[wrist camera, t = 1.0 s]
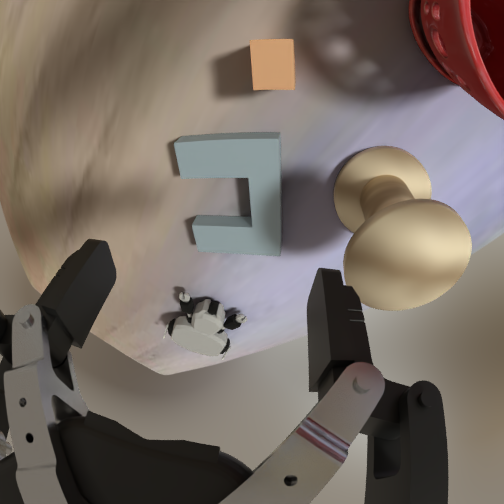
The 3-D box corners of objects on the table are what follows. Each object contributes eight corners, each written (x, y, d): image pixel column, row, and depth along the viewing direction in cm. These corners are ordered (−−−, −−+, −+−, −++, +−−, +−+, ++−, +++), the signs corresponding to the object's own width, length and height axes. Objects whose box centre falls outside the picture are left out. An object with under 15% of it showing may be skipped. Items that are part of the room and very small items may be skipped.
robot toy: (182, 276, 42) (168, 324, 51) (173, 297, 39) (161, 342, 48) (254, 304, 44) (225, 345, 53) (250, 326, 41) (221, 364, 50)
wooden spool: (337, 140, 24) (358, 198, 16) (437, 154, 22) (490, 216, 14) (328, 231, 31) (334, 309, 23) (414, 237, 29) (440, 310, 21)
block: (259, 42, 18) (249, 40, 15) (294, 41, 18) (293, 39, 14) (261, 82, 21) (253, 90, 17) (295, 82, 21) (294, 89, 17)
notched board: (181, 136, 26) (173, 143, 24) (280, 132, 24) (278, 138, 23) (202, 241, 35) (198, 251, 34) (281, 245, 33) (280, 256, 32)
